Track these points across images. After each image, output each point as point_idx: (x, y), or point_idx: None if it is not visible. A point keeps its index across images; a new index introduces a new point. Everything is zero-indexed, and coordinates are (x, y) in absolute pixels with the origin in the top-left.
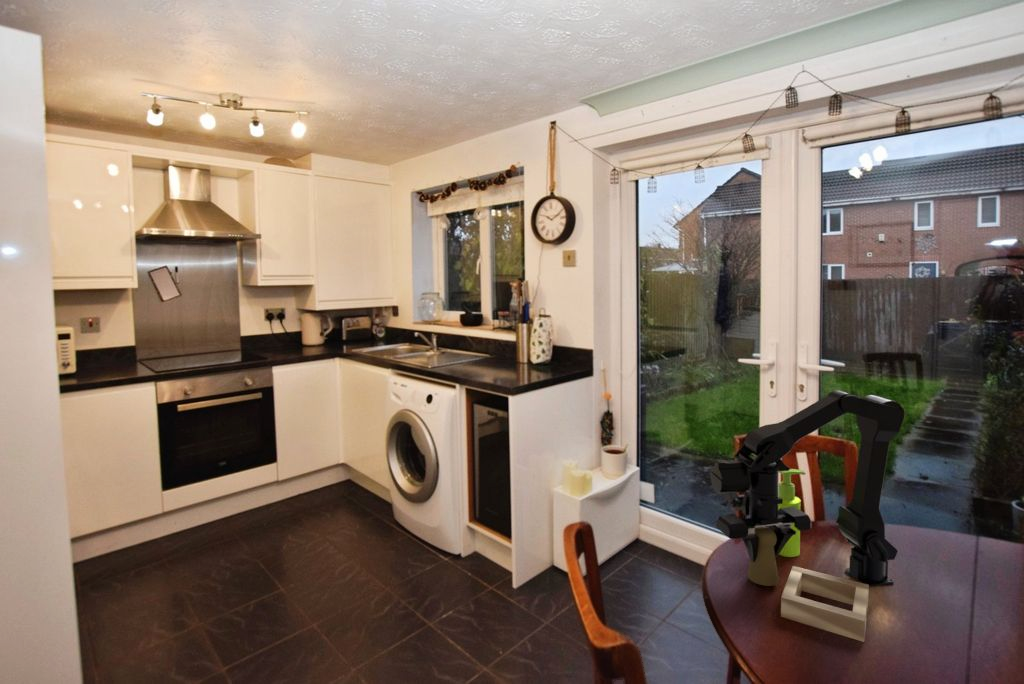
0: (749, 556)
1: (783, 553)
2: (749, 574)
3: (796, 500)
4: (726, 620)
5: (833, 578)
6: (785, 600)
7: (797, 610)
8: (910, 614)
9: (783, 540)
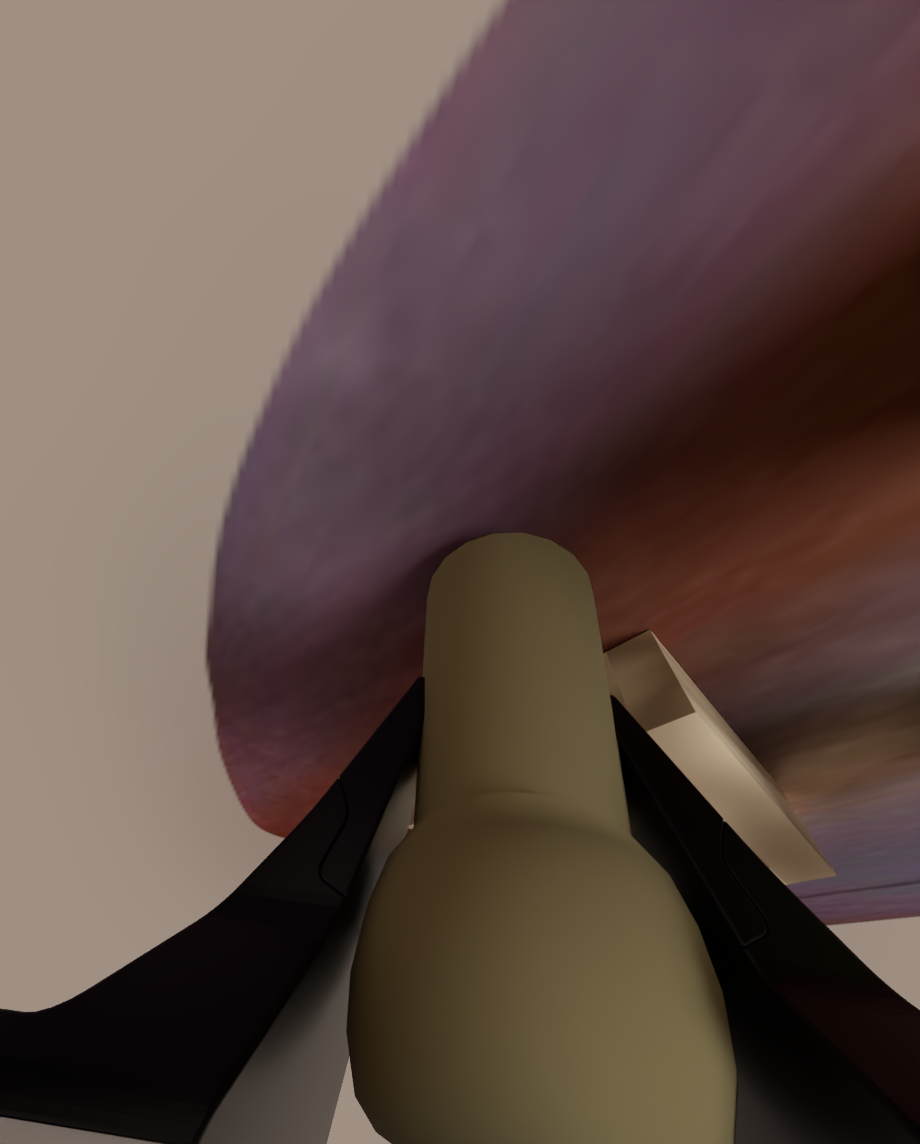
0: (403, 697)
1: None
2: (428, 602)
3: None
4: (230, 713)
5: (756, 824)
6: None
7: None
8: (825, 833)
9: None
